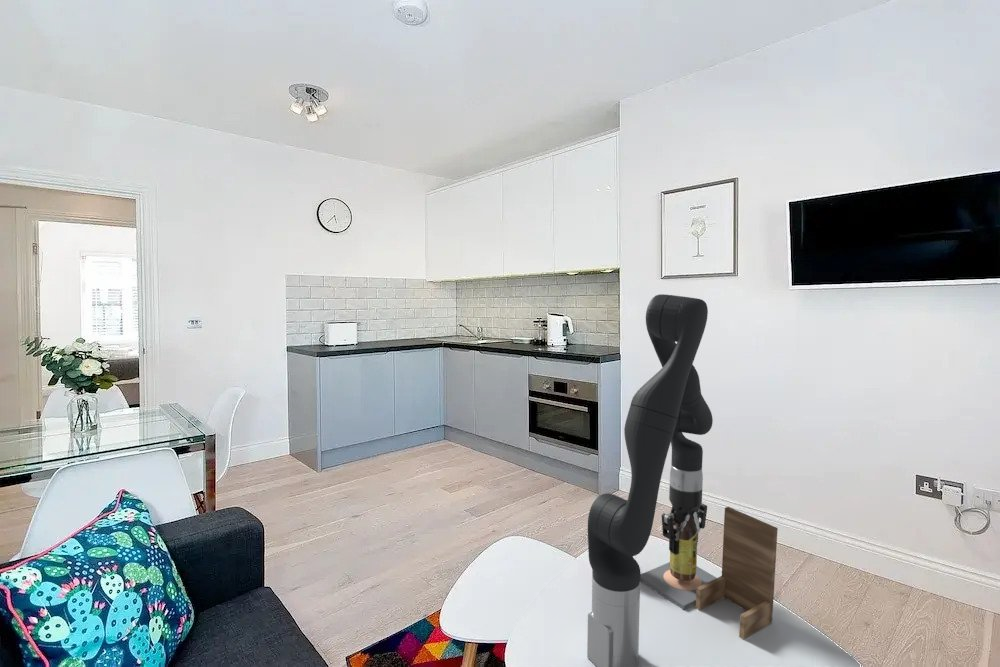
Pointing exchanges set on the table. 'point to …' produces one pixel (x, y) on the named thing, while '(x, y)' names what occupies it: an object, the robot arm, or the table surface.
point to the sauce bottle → (685, 552)
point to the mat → (675, 585)
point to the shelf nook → (745, 571)
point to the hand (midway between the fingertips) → (683, 549)
